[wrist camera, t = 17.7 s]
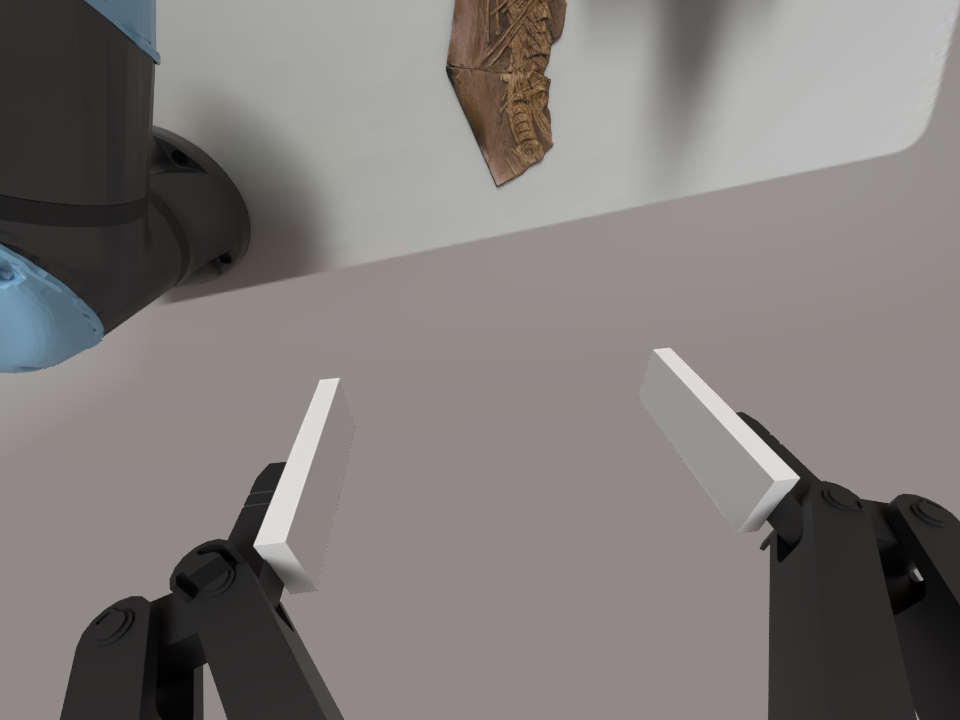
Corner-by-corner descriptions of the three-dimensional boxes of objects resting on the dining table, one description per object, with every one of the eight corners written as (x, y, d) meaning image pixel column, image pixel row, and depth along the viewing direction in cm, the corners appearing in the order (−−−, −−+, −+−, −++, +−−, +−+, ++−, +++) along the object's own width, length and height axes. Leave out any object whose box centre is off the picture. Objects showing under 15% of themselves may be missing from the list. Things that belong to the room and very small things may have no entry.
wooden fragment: (548, 184, 41) (550, 185, 40) (452, 187, 40) (452, 189, 39) (583, -208, 26) (588, -219, 25) (430, -217, 25) (430, -229, 24)
